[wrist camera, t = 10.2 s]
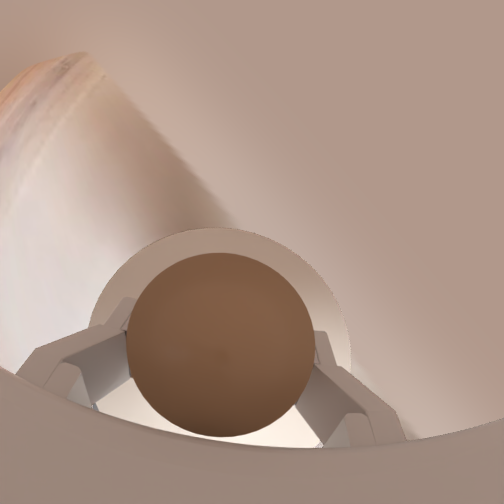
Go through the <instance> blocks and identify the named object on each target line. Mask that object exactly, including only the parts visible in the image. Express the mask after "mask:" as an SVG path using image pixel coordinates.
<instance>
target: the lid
mask: <svg viewBox="0 0 504 504" xmlns="http://www.w3.org/2000/svg"><path fill="white" fill-rule="evenodd" d="M123 297H131V298H135V299H138V300H137V301H136V303H135V306H134V308H133V310H132V313H131V316H130V319H129V323H128V328H127V335H126V352H127V359H128V364H129V368H130V371H131V374H132V377H133V378H130V379H129V380H128V381H126V382H125V383H123V384H122V385H120V386H119V387H118V388H116V389H115V390H113V391H112V392H110V393H109V394H108V395H106V396H105V397H103V398H102V399H100V400H99V401H97V402H96V405H97V407H98V409H99V411H100V412H102V413H105V414H108V415H111V416H115V417H118V418H121V419H124V420H128V421H131V422H134V423H138V424H142V425H145V426H149V427H153V428H157V429H161V430H165V431H170V432H174V433H179V434H184V435H189V436H194V437H199V438H205V439H211V440H217V441H224V442H232V443H240V444H249V445H260V446H273V447H293V448H314V447H315V446H316V445H317V444H318V443H319V442H320V439H319V438H318V437H317V436H316V434H315V433H314V432H313V430H312V429H311V428H310V426H309V425H308V424H307V422H306V421H305V420H304V418H303V417H302V416H301V414H300V413H299V412H298V410H297V409H296V408H295V406H293V405H294V404H295V403H296V402H297V400H298V399H299V397H300V396H301V394H302V393H303V391H304V389H305V387H306V385H307V383H308V381H309V379H310V375H311V372H312V369H313V364H314V358H315V335H314V330H317V331H325V332H326V333H327V335H328V338H329V341H330V344H331V347H332V351H333V354H334V357H335V360H336V364H337V366H342V367H343V368H344V369H346V370H347V371H348V372H349V373H350V372H351V349H350V339H349V334H348V330H347V326H346V322H345V319H344V317H343V314H342V311H341V309H340V306H339V304H338V303H337V301H336V299H335V297H334V296H333V293H332V292H331V290H330V289H329V287H328V286H327V284H326V283H325V282H324V280H323V279H322V277H320V275H319V274H318V273H317V272H316V271H315V270H314V269H313V268H312V267H311V266H310V265H309V264H308V263H307V262H306V261H305V260H303V259H302V258H301V257H300V256H299V255H297V254H295V253H294V252H292V251H291V250H290V249H288V248H287V247H285V246H283V245H281V244H279V243H277V242H275V241H273V240H271V239H269V238H266V237H263V236H261V235H258V234H255V233H251V232H247V231H243V230H238V229H229V228H201V229H194V230H188V231H184V232H180V233H176V234H173V235H170V236H168V237H165V238H163V239H160V240H158V241H156V242H154V243H152V244H150V245H149V246H147V247H145V248H143V249H142V250H141V251H139V252H138V253H136V254H135V255H134V256H132V257H131V258H130V259H129V260H128V261H127V262H126V263H125V264H124V265H122V266H121V267H120V268H119V269H118V270H117V272H116V273H115V274H114V275H113V277H112V278H111V279H110V280H109V282H108V283H107V285H106V286H105V288H104V290H103V291H102V293H101V295H100V296H99V298H98V301H97V303H96V305H95V308H94V310H93V312H92V316H91V320H90V323H89V327H88V328H90V327H93V326H95V325H98V324H101V325H104V324H105V322H106V321H107V319H108V318H109V316H110V315H111V314H112V312H113V311H114V309H115V308H116V307H117V305H118V304H119V303H120V301H121V300H122V298H123Z"/></svg>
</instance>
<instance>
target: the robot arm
mask: <svg viewBox="0 0 504 504" xmlns="http://www.w3.org/2000/svg"><path fill="white" fill-rule="evenodd" d="M137 300H138V299H135V298H131V297H123V298H122V300H121V301H120V303H119V304H118V305H117V307H116V308H115V309H114V311H113V312H112V314H111V315H110V316H109V318H108V319H107V321H106V322H105V324H104V325H101V324H98V325H95V326H93V327H90V328H88V329H85V330H82V331H80V332H77V333H75V334H72V335H70V336H67V337H64V338H62V339H59V340H57V341H54V342H51V343H49V344H46V345H44V346H41V347H38V348H36V349H35V350H34V351H33V352H32V354H31V355H30V356H29V357H28V359H27V360H26V361H25V363H24V364H23V365H22V366H21V368H20V369H19V370H18V372H17V373H16V374H13V373H11V372H9V371H8V370H6V369H4V368H2V367H1V366H0V504H504V418H502V419H499V420H496V421H493V422H490V423H487V424H484V425H480V426H477V427H473V428H469V429H465V430H461V431H458V432H453V433H449V434H445V435H440V436H435V437H430V438H424V439H418V440H412V441H406V438H405V435H404V432H403V430H402V427H401V425H400V422H399V419H398V417H397V414H396V412H395V410H394V409H392V408H391V407H390V406H389V405H387V404H386V403H385V402H384V401H383V400H381V399H380V398H379V397H378V396H377V395H375V394H374V393H373V392H372V391H371V390H369V389H368V388H367V387H366V386H365V385H363V384H362V383H361V382H360V381H359V380H357V379H356V378H355V377H354V376H353V375H351V374H350V373H349V372H348V371H347V370H346V369H344V368H343V367H342V366H337V364H336V360H335V357H334V354H333V351H332V347H331V344H330V341H329V338H328V335H327V333H326V332H325V331H317V330H314V335H315V358H314V364H313V369H312V372H311V375H310V379H309V381H308V383H307V385H306V387H305V389H304V391H303V393H302V394H301V396H300V397H299V399H298V400H297V402H296V403H295V404H294V405H293V406H295V408H296V409H297V410H298V412H299V413H300V414H301V416H302V417H303V418H304V420H305V421H306V422H307V424H308V425H309V426H310V428H311V429H312V430H313V432H314V433H315V434H316V436H317V437H318V438H319V439H320V441H321V442H322V443H323V445H324V446H323V447H322V448H293V447H273V446H260V445H249V444H240V443H232V442H224V441H217V440H211V439H205V438H199V437H194V436H189V435H184V434H179V433H174V432H170V431H165V430H161V429H157V428H153V427H149V426H145V425H142V424H138V423H134V422H131V421H128V420H124V419H121V418H118V417H115V416H111V415H108V414H105V413H102V412H100V411H97V410H94V409H92V405H93V404H94V403H96V402H97V401H99V400H100V399H102V398H103V397H105V396H106V395H108V394H109V393H110V392H112V391H113V390H115V389H116V388H118V387H119V386H120V385H122V384H123V383H125V382H126V381H128V380H129V379H130V378H133V377H132V374H131V371H130V368H129V364H128V359H127V352H126V335H127V328H128V323H129V319H130V316H131V313H132V310H133V308H134V306H135V303H136V301H137Z"/></svg>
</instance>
